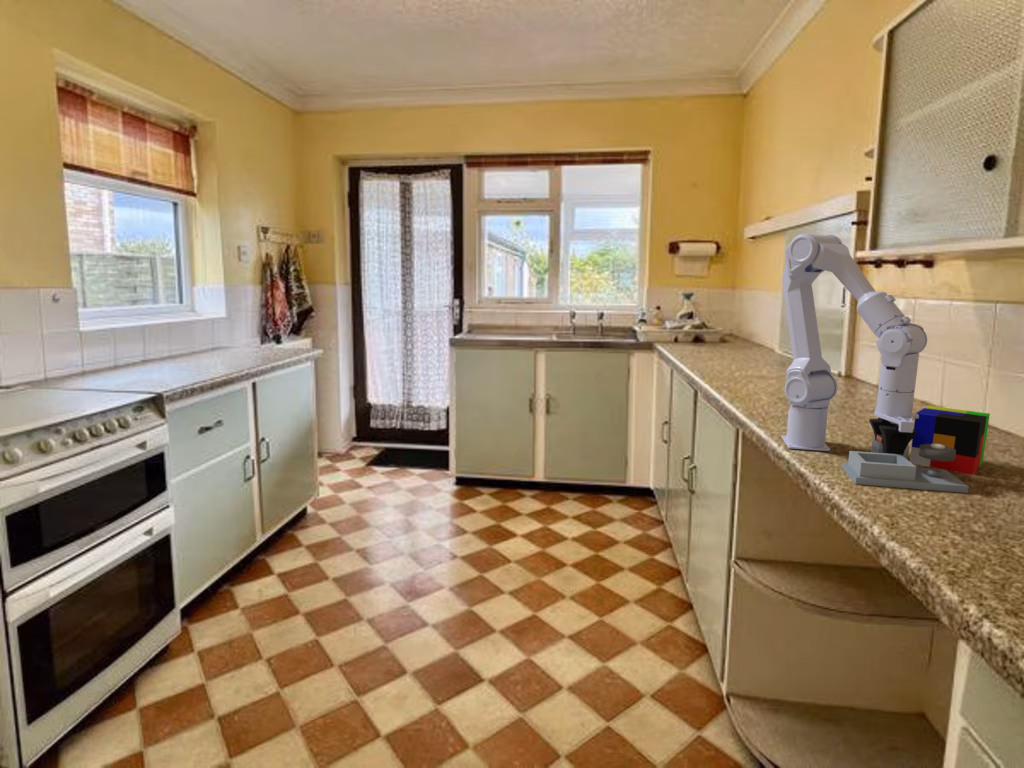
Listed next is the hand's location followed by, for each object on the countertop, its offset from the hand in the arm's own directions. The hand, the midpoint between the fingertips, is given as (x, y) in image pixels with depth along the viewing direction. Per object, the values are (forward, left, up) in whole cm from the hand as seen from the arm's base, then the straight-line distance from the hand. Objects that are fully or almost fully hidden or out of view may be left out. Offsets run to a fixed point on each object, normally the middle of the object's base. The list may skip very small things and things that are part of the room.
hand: (888, 460), depth 115 cm
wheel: (+7, +5, +3) cm, 10 cm away
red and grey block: (0, 0, -1) cm, 1 cm away
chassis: (+7, 0, -1) cm, 8 cm away
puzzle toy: (-6, +12, -2) cm, 14 cm away
